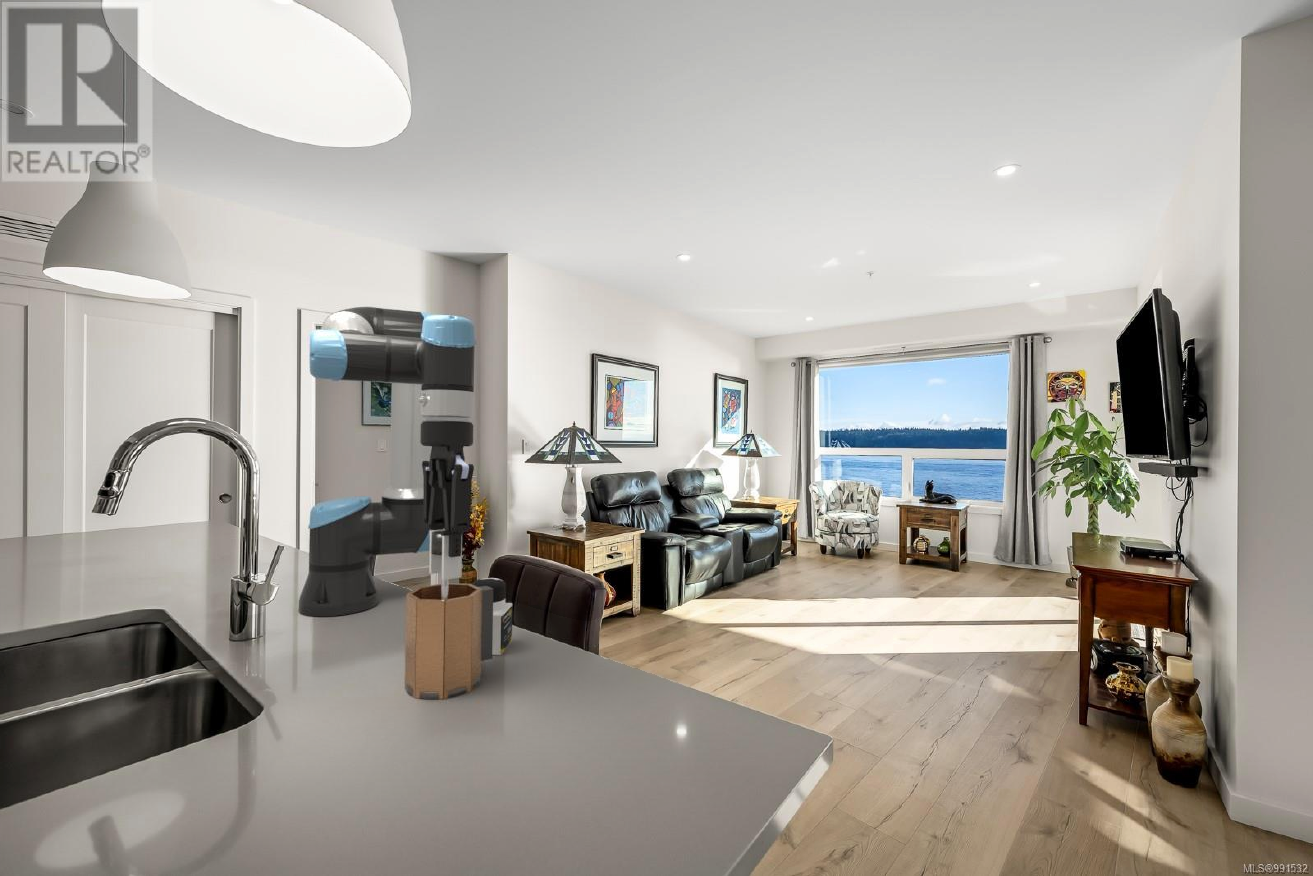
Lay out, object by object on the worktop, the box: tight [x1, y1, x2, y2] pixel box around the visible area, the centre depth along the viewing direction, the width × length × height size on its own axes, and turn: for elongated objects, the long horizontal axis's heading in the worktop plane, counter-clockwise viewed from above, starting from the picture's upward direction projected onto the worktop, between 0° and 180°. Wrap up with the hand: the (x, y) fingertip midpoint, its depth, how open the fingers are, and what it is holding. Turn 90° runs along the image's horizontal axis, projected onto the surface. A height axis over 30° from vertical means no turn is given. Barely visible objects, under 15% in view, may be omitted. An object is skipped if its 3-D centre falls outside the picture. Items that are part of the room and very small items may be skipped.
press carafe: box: [404, 582, 493, 701], centre depth 90 cm, size 10×12×14 cm
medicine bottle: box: [471, 577, 514, 656], centre depth 105 cm, size 7×7×12 cm
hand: (445, 574), depth 89 cm, fingers closed on plunger, 4 cm apart
